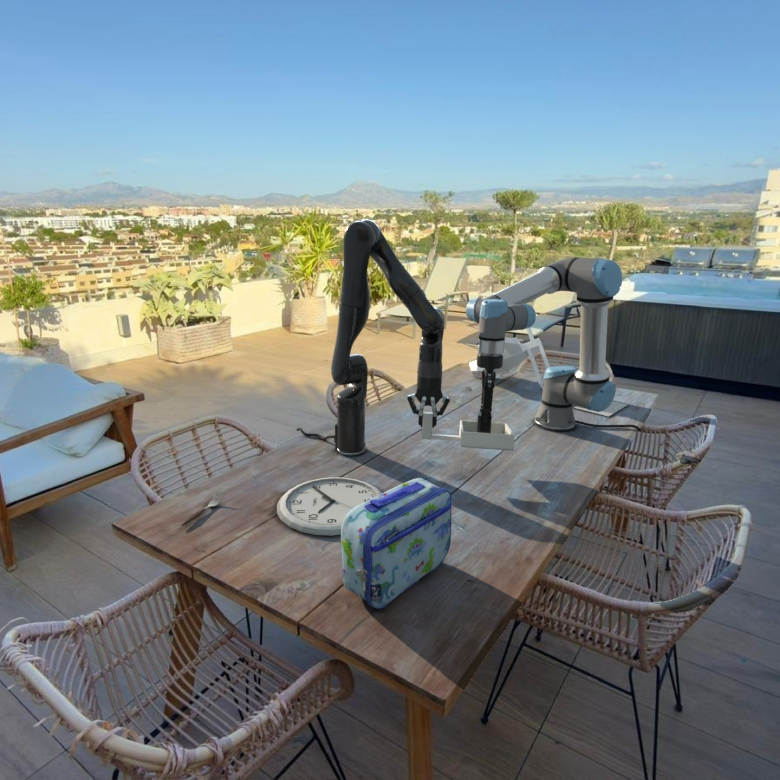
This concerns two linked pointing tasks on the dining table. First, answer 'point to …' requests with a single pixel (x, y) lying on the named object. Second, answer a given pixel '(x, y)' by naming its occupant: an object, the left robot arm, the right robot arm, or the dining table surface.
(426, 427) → the tray
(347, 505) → the wall clock
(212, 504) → the fork
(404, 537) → the lunch box
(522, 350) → the white plastic object
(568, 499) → the dining table surface
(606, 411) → the invitation card
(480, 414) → the charcoal block
